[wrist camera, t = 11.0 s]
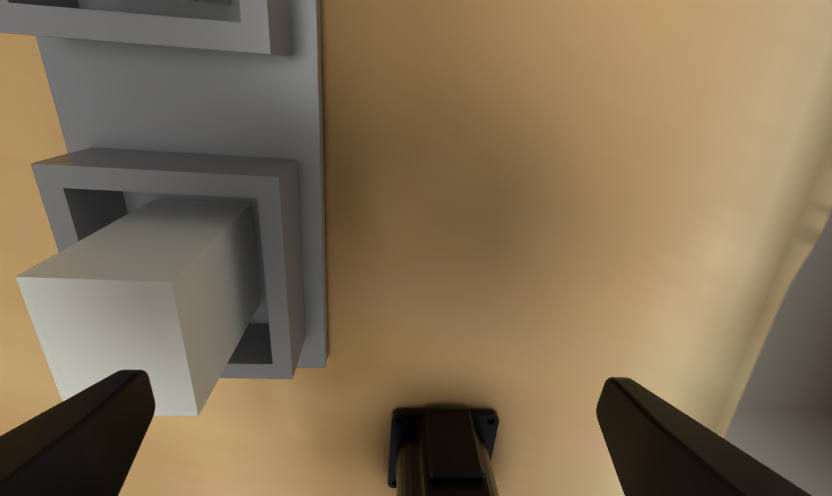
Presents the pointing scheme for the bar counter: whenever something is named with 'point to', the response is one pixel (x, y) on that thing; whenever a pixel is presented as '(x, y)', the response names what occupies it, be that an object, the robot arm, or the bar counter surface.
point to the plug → (215, 1)
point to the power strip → (196, 138)
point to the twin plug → (149, 300)
